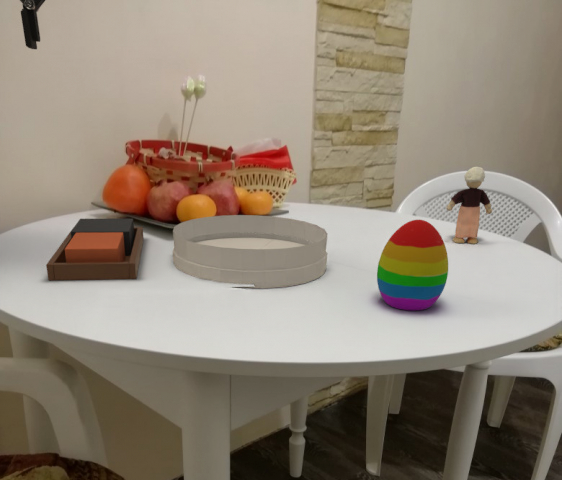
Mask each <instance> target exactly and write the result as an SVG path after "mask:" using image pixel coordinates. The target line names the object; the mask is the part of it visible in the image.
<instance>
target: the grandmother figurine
mask: <svg viewBox="0 0 562 480" xmlns="http://www.w3.org/2000/svg"><path fill="white" fill-rule="evenodd" d="M485 178H486V174H485V170H484V168H483V167H480V166H473V167H471V168H469V169H468V170H467V172H465V174H464V181H465V184H466V186H467V188H465V189H461V190H459V191H457V192H456V193H455V194H454V195H453V196H452V197H451V198H450V201H449V203H448V205H446V210H447V211H448V212H451V211H452V210H453V208H454V207H455V206H456V205H458V204H460V206H459V209H458V214H457V218H456V219H457V220H456V224H455V232H454V233H455V234H454V237H453V238H452V242H453V243H456V244H465V242H466V243H467V244H471V245H477V244H478V242H479V240H478V234H479V227H480V217H481V204H482V205H483V206H484V209H485V213H486V214H487V215H490V214H492V213H493V209H492V204H491V200H490V198H489V196H488V194H487V193H486V191H484V190H483V189H480V188H479V187H481V185H482V183H483V182H485ZM465 239H466V241H465Z"/></svg>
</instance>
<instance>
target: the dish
mask: <svg viewBox="0 0 562 480" xmlns="http://www.w3.org/2000/svg"><path fill="white" fill-rule="evenodd" d="M172 236H173V238H172V239H173V249H172V262H173V265H174V266H175V267H176V268H175V269H177V270H178V271H180V272H182V273H184V274H186V275H188V276H191V277H195V278H198V279H202V280H207V281H211V282H216V283H225V284H235V285H253V286H233V288H236V289H277V288H287V287H292V286H297V285H303V284H307V283H311V282H312V281H316V280H318V279H319V278H321V277H322V276H324V275H325V273H326V271H327V270H326V269H327V264H328V252H327V243H328V232H327V230H326V229H325V228H323V227H321V226H319V225H318V224H314V223H311V222H308V221H304V220H299V219H294V218H289V217H281V216H270V215H256V214H255V215H254V214H253V215H251V214H227V215H214V216H204V217H198V218H193V219H189V220H186V221H182V222H180V223H178V224H176V225H175V226H174V227H173V230H172Z"/></svg>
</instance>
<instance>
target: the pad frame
mask: <svg viewBox="0 0 562 480" xmlns="http://www.w3.org/2000/svg"><path fill="white" fill-rule="evenodd" d="M73 228H74V226H73V227H72V229H73ZM72 229H71V230H70V231H69V233H68V234H67V236H66V237H65V238H64V239H63V241H62V242H61V244H60V245H59V247H58V248H56V251H55V252H54V254H53V255H52V256H51V258H50V259H49V260H48V262H47V263H46V265H45V266H46V273H47V278H48V281H49V282H59V281H64V282H65V281H114V280H115V281H118V280H119V281H120V280H137V277H138V272H139V266H140V261H141V257H142V256H141V255H142V251H143V245H144V240H145V237H144V227H143V226H134V234H135V240H134V244H133V248H132V252H131V256H125V259H124V262H89V263H67V262H66V255H65V248H66V246H67V245H68V244H69V242H70V241H71V231H72Z"/></svg>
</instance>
